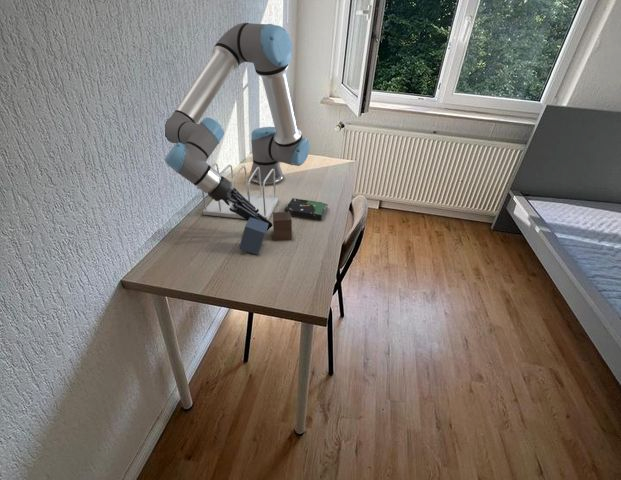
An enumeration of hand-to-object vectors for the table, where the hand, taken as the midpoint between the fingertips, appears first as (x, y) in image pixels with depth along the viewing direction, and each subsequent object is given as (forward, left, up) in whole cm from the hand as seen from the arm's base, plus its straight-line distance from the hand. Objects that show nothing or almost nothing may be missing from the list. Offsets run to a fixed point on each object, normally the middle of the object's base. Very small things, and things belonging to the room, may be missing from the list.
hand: (269, 227), depth 119 cm
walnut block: (0, +4, -4) cm, 5 cm away
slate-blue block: (+8, -6, -3) cm, 10 cm away
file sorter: (-21, -11, -4) cm, 24 cm away
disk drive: (-16, +14, -4) cm, 22 cm away
